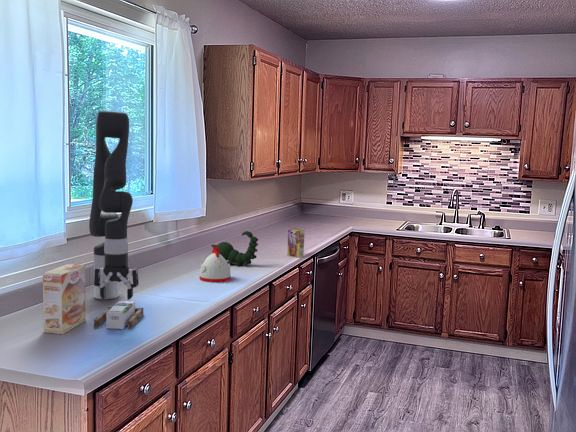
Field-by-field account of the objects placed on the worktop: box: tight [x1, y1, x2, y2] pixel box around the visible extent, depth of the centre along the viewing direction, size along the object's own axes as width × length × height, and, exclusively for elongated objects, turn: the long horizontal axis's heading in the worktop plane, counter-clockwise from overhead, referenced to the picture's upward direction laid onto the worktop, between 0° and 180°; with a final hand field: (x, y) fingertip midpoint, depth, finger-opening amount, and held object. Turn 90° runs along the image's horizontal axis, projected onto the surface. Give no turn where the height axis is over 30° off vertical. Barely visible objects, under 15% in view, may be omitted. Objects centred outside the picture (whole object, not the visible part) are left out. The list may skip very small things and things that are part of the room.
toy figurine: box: [210, 230, 259, 267], centre depth 302 cm, size 9×19×25 cm
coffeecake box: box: [42, 263, 87, 335], centre depth 197 cm, size 15×7×20 cm, turn 170°
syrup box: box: [105, 300, 136, 330], centre depth 203 cm, size 6×6×14 cm
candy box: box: [286, 227, 306, 258], centre depth 329 cm, size 9×4×15 cm, turn 48°
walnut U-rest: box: [93, 306, 144, 330], centre depth 205 cm, size 16×12×2 cm
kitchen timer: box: [199, 246, 232, 283], centre depth 270 cm, size 14×14×15 cm
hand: (116, 298), depth 201 cm, fingers open, 8 cm apart
